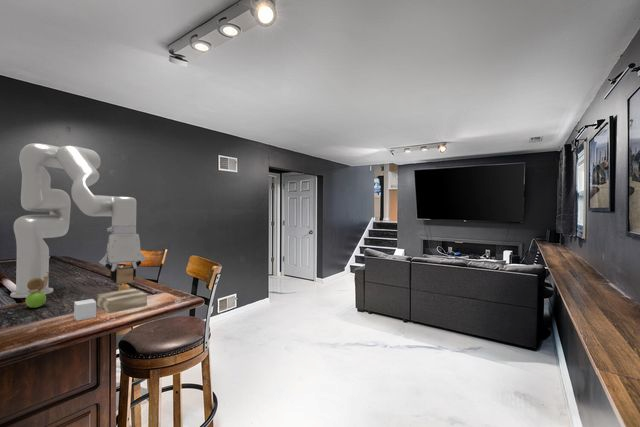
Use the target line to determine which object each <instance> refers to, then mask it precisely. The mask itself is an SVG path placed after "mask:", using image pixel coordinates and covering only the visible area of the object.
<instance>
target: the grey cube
mask: <svg viewBox="0 0 640 427" xmlns="http://www.w3.org/2000/svg"><path fill="white" fill-rule="evenodd" d="M73 303H74V304H73V305H74V306H73V317H74V319H75V320H76V322H77V321H83V320H88V319H93V318H97V301H96V300H95V299H94V298H90V299H84V300H83V299H82V300H78V301H77V300H76V301H74V302H73Z"/></svg>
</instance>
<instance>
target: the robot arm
mask: <svg viewBox="0 0 640 427" xmlns="http://www.w3.org/2000/svg"><path fill="white" fill-rule="evenodd" d="M18 160H19V161H18V162H19V166H20V170H21V189H20V190H21V191H20V205H21V207H22V208H23V210H25V211H29V212H49V214H27V215H25V214H24V215H22V216H20V217H18V218H16V219H15V221H14V222H13V232H14V236H15V241H16V243H15V244H16V272H15V274H16V277H15V278H16V282H15V291H12V292H11V293H10V297H11V298H15V299H24V298H25V299H26V298H27V296H28V295H29V294H31V293H29V292H28V290H30V289H28V287H27V284H28V282H29V281H30V280H31V279H33V278H40V279H42V280H43V281H44V276H45V275H48V273H46V272H47V271H48V272H49V273H50V269H49V268H50V267H49V266H50V264H49V262H50V249H49V246H48V244H47V242H45V240H44V239H49V238H59V237H63V236H66V234H67V233H68V231H69V228H70V219H71V218H70V217H71V206H72V204H71V198H72V201H73V202H74V204H75V205H76V206H77V208H78V209H79V210H80V211H81V212H82V214H85V215H86V216H89V217H111V226H110V227H107V228H106V231H107V232H110V233H111V234H109V235H108V240H107V246H106V253H105V255H104V256H102V258H101V259H100V260H99V262H98V263H99V264H100V265H103V266H104V267H105V268H106V269H108V270H109V271H110V273H109V274H110V275H109V276H110V280H111V281H112V283H115V282H116V275H117V272H116V269H115V268H117V265H118V264H120V263H121V264H122V263H123V264H124V263H129V264H130V267H131V268H133V281H134V280H135V278H136V276H137V269H138V267H139V266H140V265H141V264H142V263H143V262H145V260H147V257H146V256H145V255H144V254H143V253H142V251H141V250H142V249H141V241H140V235H139V233H137V199H136V198H134V197H131V196H114V195H113V196H112V195H101V194H99V195H98V194H96V195H95V194H93V192H92V191H91V190H90V189H89V187H90V186H91V187H92V185H94V184H96V183H97V182H98V181H99V179H100V173H99V172H98V170H97V169H98V168H100V166H101V157H100V155H99V154H98V153H97V152H96V151H95V150H93V149H89V148H85V147H81V146H75V145H63V146H57V145H51V144H46V143H40V142H38V143H36V142H35V143H34V142H33V143H29V144H27V145H26V144H25V145H24V147H22V148H21V150H20V153H19V159H18ZM45 167H49V168H56V169H62V170H64V171H65V173H67V175H68V176H69V178H70V180H72V182H73V183H72V185H71V188H70V189H71V197H70V195H69V194H68V193H67V191H65V190H63V189H59V188H58V189H57V188H51V182H52V180H51V175H50V173H49V171H48V170H47V169H46V168H45ZM108 262H109V263H108ZM40 292H42V293H44V294H45V295H50V294H52V293H53V292H54V288H53V287H49V280H48V281H47V285H46V287H45V288H44V289H43V290H42V291H40Z"/></svg>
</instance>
